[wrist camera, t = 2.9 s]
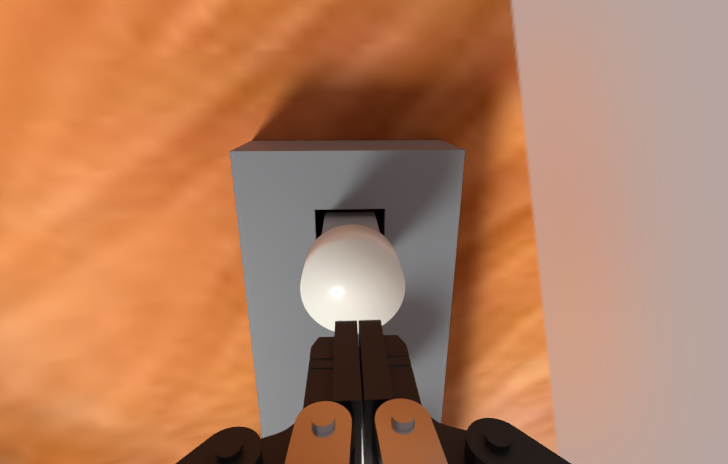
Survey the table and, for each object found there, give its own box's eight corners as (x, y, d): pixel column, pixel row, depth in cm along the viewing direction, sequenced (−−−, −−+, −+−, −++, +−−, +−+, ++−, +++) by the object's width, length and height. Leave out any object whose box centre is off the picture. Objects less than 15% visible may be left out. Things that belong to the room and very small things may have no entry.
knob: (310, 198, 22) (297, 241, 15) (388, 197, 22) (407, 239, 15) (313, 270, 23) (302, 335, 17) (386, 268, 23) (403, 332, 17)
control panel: (251, 140, 24) (229, 151, 19) (441, 139, 25) (465, 150, 20) (282, 470, 33) (273, 532, 29) (419, 463, 34) (432, 523, 29)
